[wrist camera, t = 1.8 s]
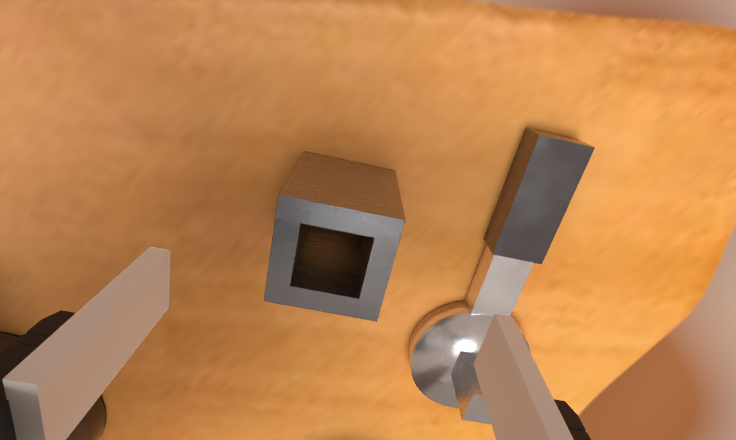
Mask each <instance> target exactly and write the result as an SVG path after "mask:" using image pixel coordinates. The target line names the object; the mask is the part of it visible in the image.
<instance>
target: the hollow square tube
mask: <svg viewBox="0 0 736 440" xmlns="http://www.w3.org/2000/svg"><path fill="white" fill-rule="evenodd" d="M404 223H405V217H404V212H403V207H402V202H401V197H400V192H399V187H398V182H397V177H396V172H395V171H393V170H388V169H384V168H379V167H374V166H370V165H365V164H360V163H356V162H351V161H346V160H342V159H337V158H332V157H328V156H323V155H318V154H314V153H309V152H304V153H303V155H302V156H301V158H300V160H299V161H298V163H297V165H296V166H295V168H294V170H293V171H292V173H291V175H290V176H289V178H288V179H287V181H286V183H285V184H284V186H283V188H282V189H281V191H280V193H279V194H278V201H277V208H276V215H275V223H274V230H273V237H272V245H271V252H270V259H269V266H268V274H267V281H266V288H265V296H264V301H267V302H272V303H278V304H283V305H289V306H294V307H300V308H305V309H311V310H316V311H322V312H327V313H333V314H338V315H344V316H349V317H355V318H360V319H366V320H371V321H377V319H378V315H379V312H380V308H381V305H382V301H383V298H384V294H385V290H386V287H387V283H388V280H389V276H390V273H391V269H392V266H393V262H394V259H395V255H396V251H397V248H398V244H399V241H400V237H401V234H402V230H403V227H404Z"/></svg>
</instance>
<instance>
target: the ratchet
mask: <svg viewBox="0 0 736 440" xmlns="http://www.w3.org/2000/svg"><path fill="white" fill-rule="evenodd" d="M594 148H595V147H593V146H591V145H588V144H586V143H584V142H582V141H580V140H577V139H574V138H569V137H565V136H561V135H556V134H552V133H548V132H543V131H539V130H535V129H530V128H526V129H525V132H524V134H523V137H522V140H521V142H520V145H519V148H518V150H517V153H516V156H515V158H514V161H513V163H512V166H511V169H510V171H509V174H508V177H507V179H506V182H505V185H504V187H503V190H502V193H501V195H500V198H499V201H498V203H497V206H496V209H495V211H494V214H493V217H492V219H491V222H490V224H489V227H488V230H487V232H486V235H485V238H484V240H485V242H486V247H485V249H484V252H483V254H482V257H481V260H480V262H479V265H478V267H477V270H476V273H475V275H474V278H473V281H472V283H471V286H470V288H469V291H468V294H467V296H466V299H465V301H458V302H453V303H450V304H446V305H444V306H441V307H439V308H437V309H435V310H434V311H432V312H430V313H429V314H428V315H426V316H425V317H424V318H423V319H422V320H421V321H420V322H419V323H418V325H417V326H416V328H415V329H414V331H413V333H412V335H411V338H410V342H409V356H410V364H411V372H412V376H413V379H414V382H415V384H416V385H417V387H418V388H419V390H420V391H421V392H422V393H423V394H424V395H425V396H427V397H428V398H429V399H431V400H433V401H435V402H437V403H439V404H442V405H445V406H448V407H453V408H459V410H460V414H461V418H462V420H468V421H474V422H480V423H486V424H491V421H490V417H489V414H488V411H487V408H486V404H485V401H484V398H483V394H482V391H481V388H480V384H479V381H478V378H477V375H476V371H475V368H474V365H473V364H474V361H475V359H476V357H477V354H478V352H479V350H480V347H481V345H482V343H483V340H484V338H485V336H486V333H487V331H488V329H489V326H490V324H491V322H492V319H493V317H494V315H495V314H499V315H504V316H509V317H512V316H511V313H512V311H513V309H514V306H515V304H516V302H517V300H518V297H519V295H520V293H521V291H522V288H523V286H524V284H525V282H526V280H527V277H528V275H529V273H530V271H531V268H532V266H533V264H534V263H538V264H542V262H543V260H544V258H545V256H546V254H547V251H548V249H549V247H550V245H551V243H552V240H553V238H554V236H555V234H556V232H557V229H558V227H559V225H560V223H561V221H562V218H563V216H564V214H565V212H566V210H567V207H568V205H569V203H570V201H571V199H572V196H573V194H574V192H575V190H576V188H577V185H578V183H579V181H580V179H581V177H582V175H583V172H584V170H585V168H586V166H587V164H588V161H589V159H590V157H591V155H592V153H593V150H594ZM513 319H514V318H513ZM514 321H515V319H514ZM515 323H516V325H517V327H518V329H519V331H520V333H521V335H522V337H523V339H524V341H525V343H526V345H527V347H528V349H529V351H530V348H529V345H528V343H527V341H526V339H525V337H524V335H523V333H522V331H521V329H520V328H519V326H518V324H517V322H516V321H515ZM530 353H531V351H530Z"/></svg>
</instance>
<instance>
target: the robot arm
mask: <svg viewBox="0 0 736 440" xmlns="http://www.w3.org/2000/svg"><path fill="white" fill-rule="evenodd" d="M169 301H170V250H168V249H163V248H158V247H153V246H150V247H149V248H148V249H147V250H145V251H144V252H143V253H142V254H141V255H140V256H139V257H138V258H137V259H135V260H134V261H133V262H132V263H131V264H130V265H129V266H128V267H126V268H125V269H124V270H123V271H122V272H121V273H120V274H119V275H118V276H116V277H115V278H114V279H113V280H112V281H111V282H110V283H109V284H108V285H106V286H105V287H104V288H103V289H102V290H101V291H100V292H99V293H98V294H96V295H95V296H94V297H93V298H92V299H91V300H90V301H89V302H88V303H86V304H85V305H84V306H83V307H82V308H81V309H80V310H79V311H78V312H76V313H72V312H67V311H59V312H57V313H55V314H53V315H50V316H48V317H46V318H44V319H42V320H41V321H39V322H38V323H37V324H36V325H35V326H33V327H32V328H31V329H30V330H29V331H27V334H24V335H23V336H21V337H17V336H13V335H9V334H3V333H0V440H99V438H100V437H101V435H102V433H103V430H104V427H105V409H104V405H103V402H102V400H101V397H100V395H101V394H102V393H103V392H104V390H105V389H106V388H107V386H108V385H109V384H110V383H111V381H112V380H113V379H114V378H115V376H116V375H117V374H118V372H119V371H120V370H121V369H122V367H123V366H124V365H125V363H126V362H127V361H128V360H129V358H130V357H131V356H132V355H133V353H134V352H135V351H136V349H137V348H138V347H139V346H140V344H141V343H142V342H143V340H144V339H145V338H146V337H147V335H148V334H149V333H150V332H151V330H152V329H153V328H154V326H155V325H156V324H157V323H158V321H159V320H160V319H161V317H162V316H163V315H164V314H165V312H166V311H167V310H168V309H169ZM473 365H474V368H475V371H476V375H477V378H478V381H479V384H480V388H481V391H482V394H483V398H484V401H485V404H486V408H487V411H488V414H489V417H490V421H491V424H492V427H493V431H494V434H495V437H496V440H591V439H590V437H589V435H588V434H587V433H586V432H585V428H584V426H583V425H582V422H581V421H580V419H579V417H578V415H577V414H576V413H575V412H574V411H573V410H572V409H571V407H570V406H569V405H568V404H567V403H566V402H565V401H560V400H555V399H553V397H552V395H551V393H550V391H549V389H548V387H547V385H546V383H545V381H544V379H543V377H542V375H541V373H540V371H539V369H538V367H537V365H536V363H535V361H534V359H533V357H532V355H531V353H530V351H529V349H528V347H527V345H526V343H525V341H524V339H523V337H522V335H521V333H520V331H519V329H518V327H517V325H516V323H515V321H514V319H513V317H509V316H504V315H499V314H495V315H494V317H493V319H492V322H491V324H490V326H489V329H488V331H487V333H486V336H485V338H484V340H483V343H482V345H481V347H480V350H479V352H478V354H477V357H476V359H475V361H474V364H473Z"/></svg>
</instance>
